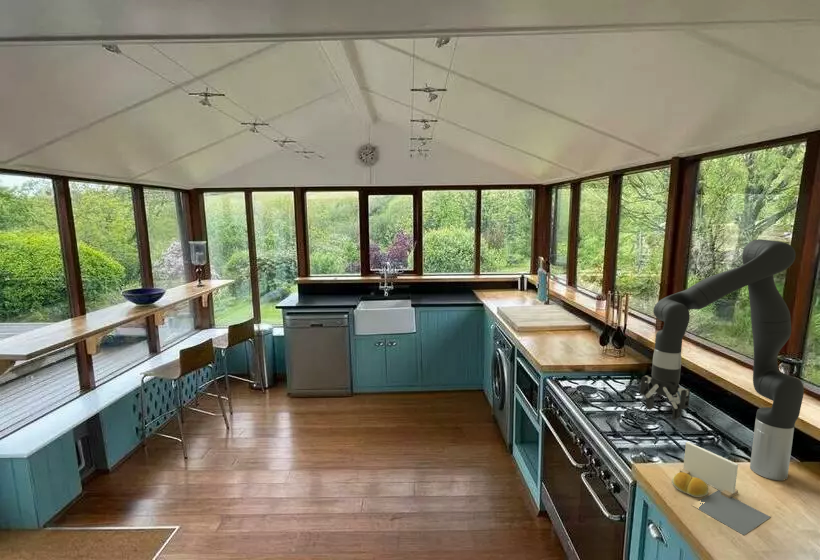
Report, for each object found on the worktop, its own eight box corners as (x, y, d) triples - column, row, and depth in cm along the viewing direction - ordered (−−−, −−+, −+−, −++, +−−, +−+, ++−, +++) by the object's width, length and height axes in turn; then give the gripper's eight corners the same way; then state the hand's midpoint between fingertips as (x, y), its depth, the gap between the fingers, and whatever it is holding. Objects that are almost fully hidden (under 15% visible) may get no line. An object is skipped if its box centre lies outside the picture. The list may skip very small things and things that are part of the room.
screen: (688, 468, 137) (691, 440, 136) (737, 493, 125) (741, 462, 123) (679, 473, 135) (682, 444, 134) (728, 498, 123) (732, 467, 121)
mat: (718, 490, 126) (718, 489, 126) (770, 517, 115) (770, 516, 115) (691, 505, 120) (691, 504, 120) (743, 535, 109) (743, 534, 109)
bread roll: (703, 502, 121) (704, 489, 121) (668, 487, 128) (669, 475, 127) (712, 490, 126) (713, 477, 126) (678, 476, 133) (679, 465, 133)
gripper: (698, 369, 126) (693, 420, 128) (651, 355, 138) (647, 402, 141) (683, 373, 122) (678, 426, 125) (637, 359, 135) (633, 407, 137)
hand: (662, 413), depth 133 cm, fingers open, 7 cm apart
